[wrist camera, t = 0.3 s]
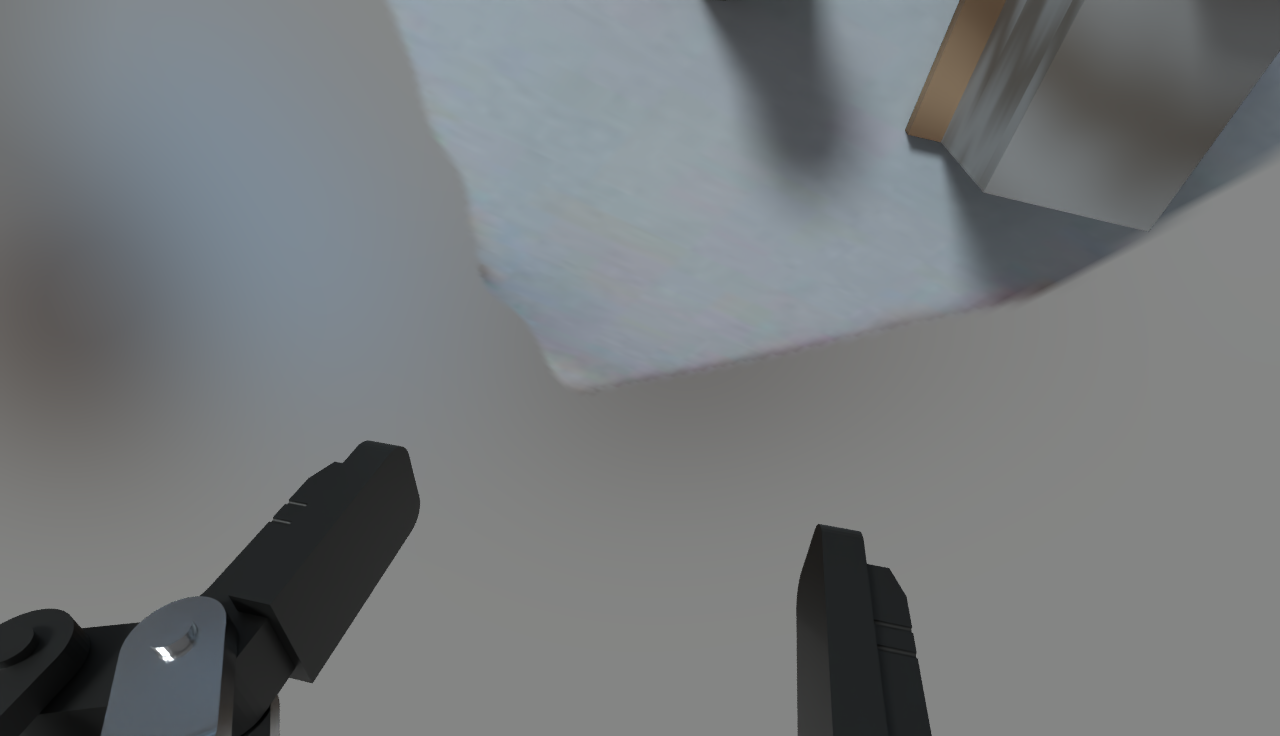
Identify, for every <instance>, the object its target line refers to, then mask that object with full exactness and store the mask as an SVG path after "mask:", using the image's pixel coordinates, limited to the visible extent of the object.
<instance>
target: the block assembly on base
mask: <svg viewBox="0 0 1280 736" xmlns="http://www.w3.org/2000/svg"><path fill="white" fill-rule="evenodd" d="M1279 51H1280V0H960V1H959V4H958V6H957V8H956V11H955V13H954V15H953V18H952V20H951V23H950V25H949V27H948V30H947V32H946V34H945V37H944V39H943V42H942V44H941V46H940V49H939V51H938V53H937V56H936V58H935V61H934V63H933V65H932V68H931V70H930V72H929V75H928V77H927V80H926V82H925V84H924V87H923V89H922V91H921V94H920V96H919V99H918V101H917V103H916V106H915V108H914V110H913V113H912V115H911V118H910V120H909V122H908V125H907V127H906V129H905V131H906V132H907V134H908V135H912V136H916V137H920V138H925V139H929V140H933V141H937V142H941V143H942V144H943V145H944V147H945V148H946V149H947V150H948V151H949V153H950V154H951V155H952V156H953V157H954V158H955V160H956V161H957V162H958V163H959V164H960V166H961V167H962V168H963V169H964V170H965V171H966V173H967V174H968V175H969V176H970V177H971V179H972V180H973V181H974V182H975V183H976V184H977V186H978V187H979V188H980V189H981V190H982V191H983V193H987V194H992V195H996V196H1000V197H1004V198H1008V199H1012V200H1017V201H1021V202H1025V203H1029V204H1033V205H1038V206H1042V207H1046V208H1050V209H1054V210H1059V211H1063V212H1067V213H1071V214H1075V215H1080V216H1084V217H1088V218H1092V219H1096V220H1101V221H1105V222H1109V223H1113V224H1117V225H1122V226H1126V227H1130V228H1134V229H1138V230H1143V231H1147V232H1149V231H1150V230H1151V228H1152V227H1153V226H1154V224H1155V223H1156V221H1157V220H1158V219H1159V217H1160V216H1161V215H1162V213H1163V212H1164V210H1165V209H1166V208H1167V206H1168V205H1169V203H1170V202H1171V201H1172V199H1173V198H1174V197H1175V195H1176V194H1177V192H1178V191H1179V190H1180V188H1181V187H1182V185H1183V184H1184V183H1185V181H1186V180H1187V179H1188V177H1189V176H1190V174H1191V173H1192V172H1193V170H1194V169H1195V167H1196V166H1197V165H1198V163H1199V162H1200V161H1201V159H1202V158H1203V156H1204V155H1205V154H1206V152H1207V151H1208V149H1209V148H1210V147H1211V145H1212V144H1213V143H1214V141H1215V140H1216V138H1217V137H1218V136H1219V134H1220V133H1221V131H1222V130H1223V129H1224V127H1225V126H1226V125H1227V123H1228V122H1229V120H1230V119H1231V118H1232V116H1233V115H1234V113H1235V112H1236V111H1237V109H1238V108H1239V107H1240V105H1241V104H1242V102H1243V101H1244V100H1245V98H1246V97H1247V95H1248V94H1249V93H1250V91H1251V90H1252V89H1253V87H1254V86H1255V84H1256V83H1257V82H1258V80H1259V79H1260V77H1261V76H1262V75H1263V73H1264V72H1265V71H1266V69H1267V68H1268V66H1269V65H1270V64H1271V62H1272V61H1273V59H1274V58H1275V57H1276V55H1277V54H1278V53H1279Z"/></svg>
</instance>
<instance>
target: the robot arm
mask: <svg viewBox="0 0 1280 736" xmlns="http://www.w3.org/2000/svg"><path fill="white" fill-rule="evenodd" d="M419 509H420V498H419V494H418V490H417V486H416V482H415V478H414V474H413V470H412V466H411V462H410V458H409V454H408V451H407V450H406V449H405V448H404V447H401V446H396V445H390V444H385V443H379V442H374V441H364V442H362V443H361V444H359V445H358V446H357V447H356V449H355V450H354V451H353V452H352V453H351V454H350V456H349V457H348V458H347V459H346V460H345V461H344V462H343V463H338V462H334V463H332V464H330V465H329V466H327V467H326V468H324V469H323V470H321V471H319V472H318V473H316V474H315V475H313V476H311V477H310V478H308V480H307V481H306V482H305V483H304V484H303V485H302V486H301V487H300V488H299V489H298V490H297V492H296V493H295V494H294V495H293V496H292V497H291V498H290V499H289V503H288V504H285V505H284V506H283V507H282V508H281V509H280V510H279V511H278V512H277V514H276V515H275V516H274V517H273V521H272V522H268V523H267V524H266V526H265V527H264V528H263V529H262V530H261V531H260V532H259V533H258V534H257V535H256V537H255V538H254V539H253V540H252V541H251V542H250V543H249V544H248V545H247V547H246V548H245V549H244V550H243V551H242V552H241V553H240V554H239V555H238V556H237V557H236V559H235V560H234V561H233V562H232V563H231V564H230V565H229V566H228V567H227V568H226V569H225V571H224V572H223V573H222V574H221V575H220V576H219V577H218V578H217V579H216V580H215V582H214V583H213V584H212V585H211V586H210V587H209V588H208V589H207V590H206V591H205V592H204V593H203V594H201V595H200V596H195V597H188V598H184V599H180V600H177V601H174V602H171V603H169V604H167V605H165V606H163V607H161V608H159V609H158V610H156V611H154V612H153V613H151V614H150V615H149V616H147V617H146V618H145V619H143V620H142V621H141V622H139V623H130V624H120V625H110V626H100V627H90V628H81V627H80V626H79V625H78V624H77V623H76V622H75V620H73V618H72V617H71V616H70V615H69V614H68V613H66V612H65V611H62V610H58V609H41V610H36V611H31V612H28V613H25V614H22V615H19V616H17V617H15V618H12V619H10V620H8V621H6V622H4V623H2V624H0V736H279V735H280V730H279V729H280V703H279V697H278V693H279V691H280V690H281V688H282V687H283V686H284V684H285V682H286V681H287V679H288V678H293V679H298V680H301V681H305V682H309V683H313V682H314V680H315V679H316V677H317V676H318V674H319V672H320V671H321V669H322V668H323V666H324V665H325V663H326V662H327V660H328V659H329V657H330V655H331V654H332V652H333V651H334V649H335V648H336V646H337V645H338V643H339V642H340V640H341V639H342V637H343V635H344V634H345V632H346V631H347V629H348V628H349V626H350V625H351V623H352V622H353V620H354V619H355V617H356V616H357V614H358V612H359V611H360V609H361V608H362V606H363V605H364V603H365V602H366V600H367V599H368V597H369V596H370V594H371V593H372V591H373V589H374V588H375V586H376V585H377V583H378V582H379V580H380V579H381V577H382V576H383V574H384V573H385V571H386V569H387V568H388V566H389V565H390V563H391V562H392V560H393V559H394V557H395V556H396V554H397V553H398V551H399V549H400V548H401V546H402V544H403V543H404V542H405V540H406V539H407V537H408V536H409V534H410V532H411V531H412V529H413V528H414V525H415V523H416V520H417V518H418V514H419ZM796 616H797V702H798V703H797V708H798V736H932V735H931V730H930V724H929V719H928V713H927V708H926V702H925V697H924V691H923V685H922V680H921V675H920V669H919V664H918V659H917V658H916V647H915V641H914V636H913V633H912V632H911V628H912V625H911V619H910V614H909V608H908V603H907V597H906V595H905V594H904V592H903V590H902V589H901V587H900V585H899V584H898V582H897V581H896V579H895V577H894V575H893V574H892V572H891V571H890V569H889V568H885V567H880V566H874V565H869V564H867V563H866V555H865V547H864V540H863V536H862V534H861V532H859V531H854V530H849V529H844V528H837V527H832V526H827V525H822V524H818V525H817V526H816V528H815V531H814V534H813V538H812V540H811V544H810V547H809V550H808V554H807V556H806V559H805V562H804V566H803V568H802V572H801V575H800V579H799V585H798V592H797V607H796Z"/></svg>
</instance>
